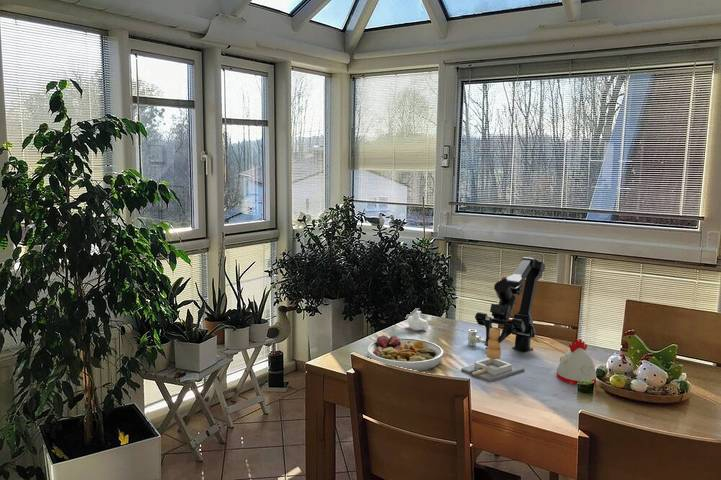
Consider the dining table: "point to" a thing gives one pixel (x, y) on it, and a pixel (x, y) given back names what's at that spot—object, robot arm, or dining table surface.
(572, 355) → the kitchen timer
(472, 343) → the valve
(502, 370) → the plate
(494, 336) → the tan ribbed cylinder
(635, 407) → the dining table surface
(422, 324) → the duck figurine
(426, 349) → the bowl
